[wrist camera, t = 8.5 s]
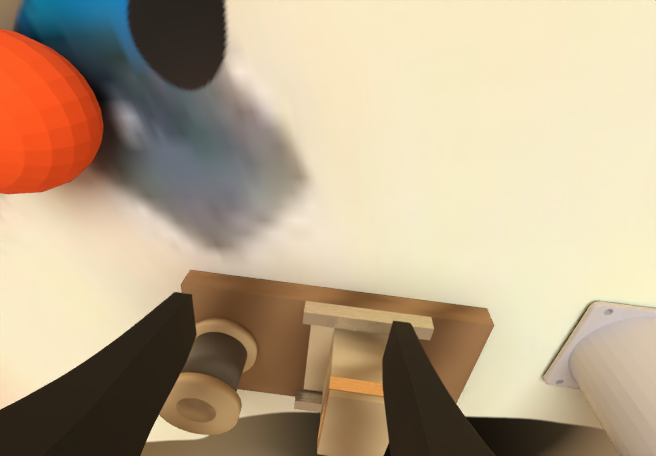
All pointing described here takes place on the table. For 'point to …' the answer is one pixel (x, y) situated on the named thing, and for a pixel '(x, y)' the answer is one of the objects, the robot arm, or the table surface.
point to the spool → (211, 378)
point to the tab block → (354, 396)
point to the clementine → (43, 117)
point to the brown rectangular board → (331, 330)
